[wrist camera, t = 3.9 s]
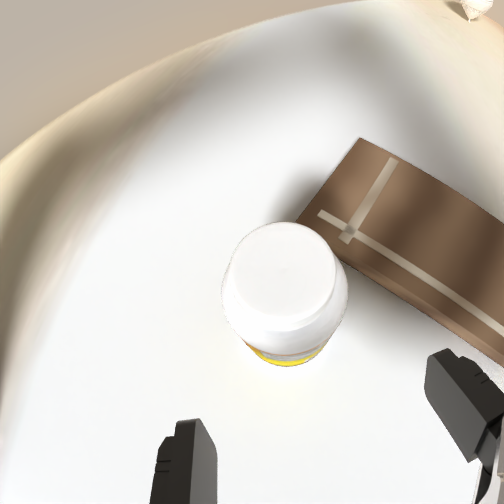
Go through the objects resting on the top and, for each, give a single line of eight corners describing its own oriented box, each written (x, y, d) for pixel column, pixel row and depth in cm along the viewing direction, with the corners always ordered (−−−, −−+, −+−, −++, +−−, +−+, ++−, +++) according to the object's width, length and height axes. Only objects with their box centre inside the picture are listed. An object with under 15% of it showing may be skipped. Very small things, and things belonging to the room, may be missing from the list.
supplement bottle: (247, 286, 22) (215, 203, 13) (328, 286, 22) (353, 202, 12) (242, 366, 20) (199, 341, 11) (329, 368, 19) (362, 344, 10)
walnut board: (295, 232, 24) (295, 220, 22) (357, 150, 26) (360, 136, 25) (542, 396, 15) (554, 393, 13) (568, 294, 18) (579, 287, 16)
